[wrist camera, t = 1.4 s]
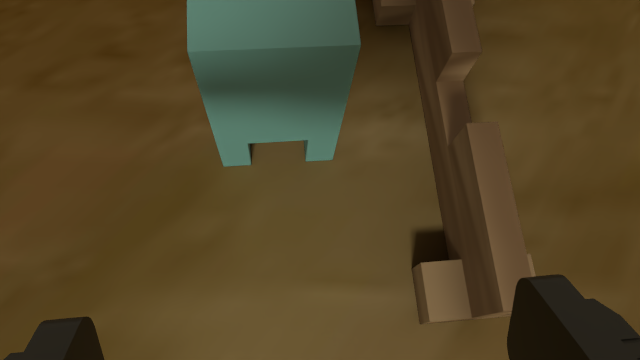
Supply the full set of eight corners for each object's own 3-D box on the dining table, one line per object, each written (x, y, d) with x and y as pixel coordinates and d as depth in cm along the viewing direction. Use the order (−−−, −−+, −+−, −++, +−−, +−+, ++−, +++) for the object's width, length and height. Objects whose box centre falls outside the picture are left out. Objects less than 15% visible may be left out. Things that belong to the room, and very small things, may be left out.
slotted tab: (223, 166, 30) (187, 51, 19) (222, 128, 31) (186, -4, 20) (332, 159, 31) (361, 44, 19) (328, 123, 31) (353, -9, 20)
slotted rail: (419, 324, 28) (454, 315, 22) (370, -12, 35) (387, -84, 29) (526, 314, 29) (586, 303, 23) (456, -15, 36) (489, -86, 30)
